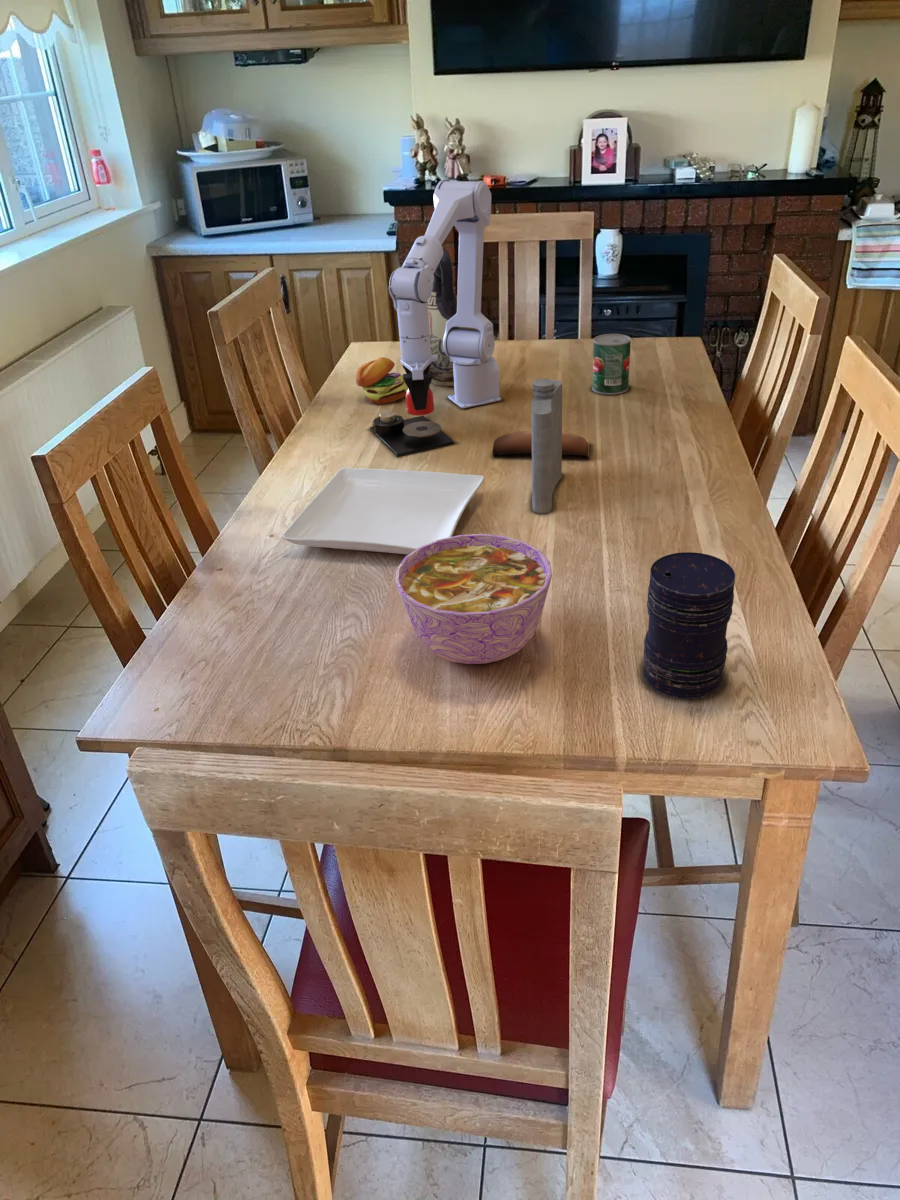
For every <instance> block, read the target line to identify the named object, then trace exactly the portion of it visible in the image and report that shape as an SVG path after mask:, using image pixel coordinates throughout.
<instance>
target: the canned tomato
mask: <svg viewBox="0 0 900 1200" xmlns="http://www.w3.org/2000/svg"><path fill="white" fill-rule="evenodd" d="M631 342H632V338H631V337H630V336H629V335H626V334H622V333H606V334H599V335H597V336H595V337H593V354H592V386H591V390H592V391H593V392H594V393H596V394H599V395H605V396H606V395H607V396H614V395H620V394H624V393H626V392H627V391H629V388H630V387H629V383H630V366H631V365H630V363H631V361H630V360H631Z"/></svg>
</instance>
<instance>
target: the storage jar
mask: <svg viewBox="0 0 900 1200" xmlns="http://www.w3.org/2000/svg"><path fill="white" fill-rule="evenodd" d="M649 570H650V572H649V585H648V588H647V601H646V609H647V614H648V629H647V631H646V633H645V637H644V639H643V645H644V647H643V664H644V665H643V670H642V671H643V672H642V673H643V678H644V681H645V682H646V684H647V685H648V686H649V687H651V688H652V689H653V690H654V691H656V692H657V693H659V694H661V695H663V696H666V697H670V698H674V699H680V700H696V699H697V700H698V699H702V698H706V697H708V696H710V695H713V694H714V693H715V692H717V691H718V690H719V689H720V687H721V685H722V683H723V678H724V677H723V676H724V670H725V667H726V663H727V662H726V661H727V653H728V640H727V638H726V637H727V631H728V624H729V622H730V620H731V616H732V615H733V605H734V599H735V591H734V590H735V584H736V572H735V570H734V568H733V567H732V565H730V564H729V563H728V562H726V560H723V559H721V558H720V557H716V556H715V555H711V554H707V553H702V552H694V551H693V552H692V551H685V552H683V551H682V552H674V553H669V554H667V555H663V556H661V557H659V558H658V559H656V560H655V561H654V562H653V564H651V566H650V569H649Z"/></svg>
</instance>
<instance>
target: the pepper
mask: <svg viewBox="0 0 900 1200" xmlns="http://www.w3.org/2000/svg"><path fill="white" fill-rule="evenodd" d="M405 408H406V413H407V414H408V415H411V416H425V415H429V414H432V413H434V411H435V402H434V393H433V391H432V389H431V387H429V389H428V396H427V405H426V409H423V410H415V408H414V405H413V402H412V398H411V394H410V391H409V389H408V390H407V392H406V397H405Z"/></svg>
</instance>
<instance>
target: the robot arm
mask: <svg viewBox="0 0 900 1200" xmlns="http://www.w3.org/2000/svg"><path fill="white" fill-rule="evenodd" d="M433 207H434V208H433V209H434V211H433V212H432V216H431V217H430V221H429V223H428V225H427V228H426V231H425V233H424V235H420V236H418V237H417V238H416V239H415V240H414V243H413V245H412V246H411V249H410V251H409V252H408V254H407V256H406V258H405V260H404V262H403V263H402V266H401V267H397V268H396V269H395V270H393V271H392V273H391V274H390V278H389V285H388V293H389V296H390V298H391V299H392V302H393V303H392V304H393V308H394V310H395V311H396V312H397V323H398V324H397V325H398V336H399V346H400V360H399V361H400V364H401V365H402V368H403V370H404V371H405V373H402V376H403V380H404V382H405V383H406V385H407V387H408V389H409V391H410V394H411V398H412V402H413V405H414V408H415V410H423V409H426V405H427V396H428V389H429V388H430V385H431V383H432V378H433V374H428V371H429V368H430V366H431V362H432V361H437V360H438V359H437V355H431V346H430V332H429V317H428V302H427V300H428V299H429V298H430V296H431V294H432V288H433V282H434V275H433V274H434V272H435V270H436V268H437V266H438V264H439V262H440V260H441V258H442V256H443V248H444V247H443V246H442V245H443V243H444V242H445V240H446V239H447V237H448V236H449V234H450V232H451V231H452V229H453V227H454V228H455V229H456V230H457V232H458V257H457V258H458V260H457V263H458V264H457V290H456V291H457V292H456V293H457V294H456V296H457V313H456V315H454V316H453V317H452V318H450V319H449V320H448V321H447V322H446V330H445V335H444V338H443V349H444V352H445V354H446V355H447V356H448V357H450V362H453V374H454V386H453V387H454V390H453V391H454V393H453V394H449V395H448V396H447V399H449V400H450V401H451V402H453V403H454V404H455V405H457V406H458V407H459V408H460V409H469V408H472V407H477V406H482V405H487V404H491V403H496V402H500V401H502V397H501V388H500V385H501V383H500V368H499V364H498V362H497V360H496V358H495V357H494V356H493V355H494V351H495V347H496V346H495V345H496V343H495V342H496V341H495V336H494V335H495V334H494V324H493V323H492V321H491V320H490V319H488V318H487V317H486V316H485V315H484V314H483V313H482V311H481V310H482V293H483V291H482V290H483V289H482V288H483V268H484V267H483V266H484V263H483V262H484V241H485V240H484V238H485V228H486V227H488V226H490V225H491V215H492V192H491V190H490V187H489V185H488V184H487V183H486V181H484V180H479V181H461V180H460V181H458V180H457V181H455V180H452V181H451V180H443V179H442V180H440V181H439V182H438V183H437V185H436V186H435V189H434V192H433ZM459 327H467V328H476V329H478V330H476V329H465V328H459Z"/></svg>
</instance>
